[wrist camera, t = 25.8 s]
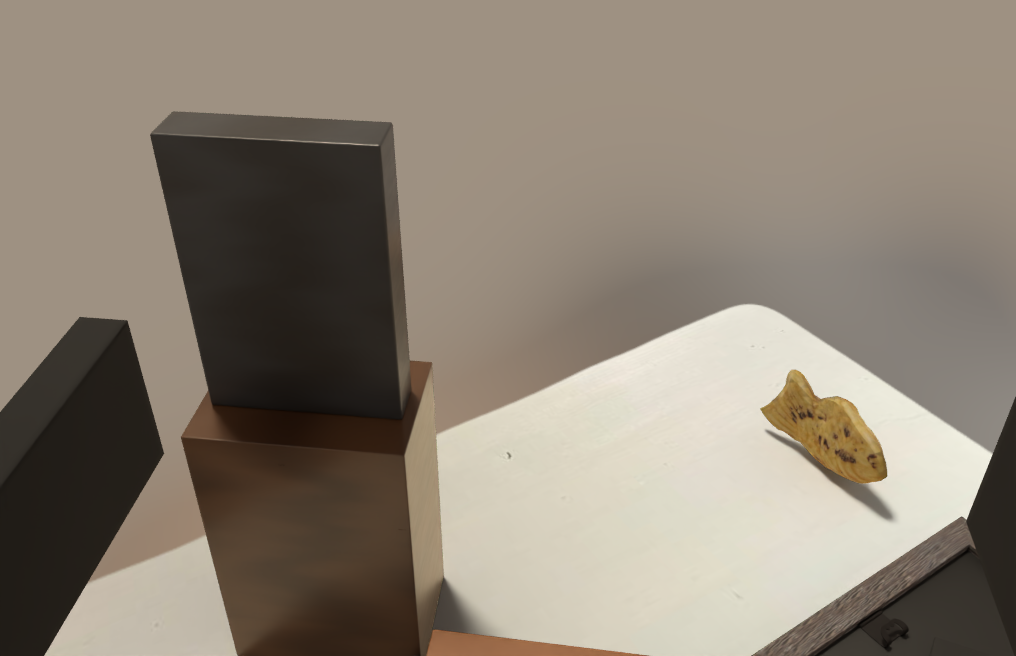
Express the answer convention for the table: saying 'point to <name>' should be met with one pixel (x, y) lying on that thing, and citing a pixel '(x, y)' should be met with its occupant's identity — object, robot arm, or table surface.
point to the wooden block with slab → (305, 384)
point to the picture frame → (909, 609)
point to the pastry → (828, 430)
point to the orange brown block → (503, 647)
